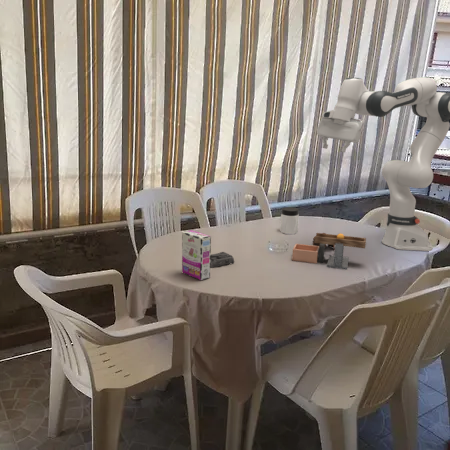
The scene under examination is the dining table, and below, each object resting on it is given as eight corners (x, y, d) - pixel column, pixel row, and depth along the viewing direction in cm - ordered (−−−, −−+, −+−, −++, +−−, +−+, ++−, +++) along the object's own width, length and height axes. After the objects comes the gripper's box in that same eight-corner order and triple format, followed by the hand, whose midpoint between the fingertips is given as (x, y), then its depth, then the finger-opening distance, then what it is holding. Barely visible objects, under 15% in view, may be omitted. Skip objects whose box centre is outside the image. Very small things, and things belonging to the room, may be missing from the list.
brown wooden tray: (365, 243, 191) (366, 237, 190) (365, 249, 183) (365, 243, 182) (316, 238, 197) (316, 232, 196) (314, 244, 189) (314, 237, 188)
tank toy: (211, 270, 182) (211, 258, 180) (199, 263, 189) (199, 251, 188) (237, 265, 188) (237, 252, 186) (224, 258, 195) (224, 246, 194)
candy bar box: (211, 278, 173) (211, 235, 168) (200, 281, 169) (201, 238, 165) (191, 269, 180) (191, 229, 176) (181, 272, 177) (181, 231, 172)
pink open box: (318, 257, 198) (319, 246, 197) (316, 263, 191) (317, 252, 189) (295, 254, 201) (295, 243, 200) (292, 260, 193) (292, 249, 192)
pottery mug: (337, 253, 206) (331, 239, 202) (317, 260, 208) (310, 246, 205) (334, 239, 216) (328, 225, 213) (315, 246, 219) (308, 232, 215)
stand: (348, 259, 197) (351, 236, 194) (347, 269, 185) (349, 245, 182) (320, 255, 200) (322, 233, 198) (316, 265, 188) (318, 242, 186)
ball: (344, 240, 190) (344, 233, 190) (343, 242, 188) (344, 235, 187) (336, 239, 191) (337, 232, 191) (336, 241, 189) (336, 234, 188)
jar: (284, 228, 240) (285, 206, 237) (299, 231, 237) (300, 208, 234) (278, 233, 233) (279, 209, 229) (293, 235, 229) (295, 212, 226)
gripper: (368, 121, 184) (358, 155, 187) (328, 116, 200) (319, 147, 202) (359, 117, 180) (349, 152, 182) (319, 112, 195) (310, 144, 198)
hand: (333, 150), depth 192 cm, fingers open, 8 cm apart
